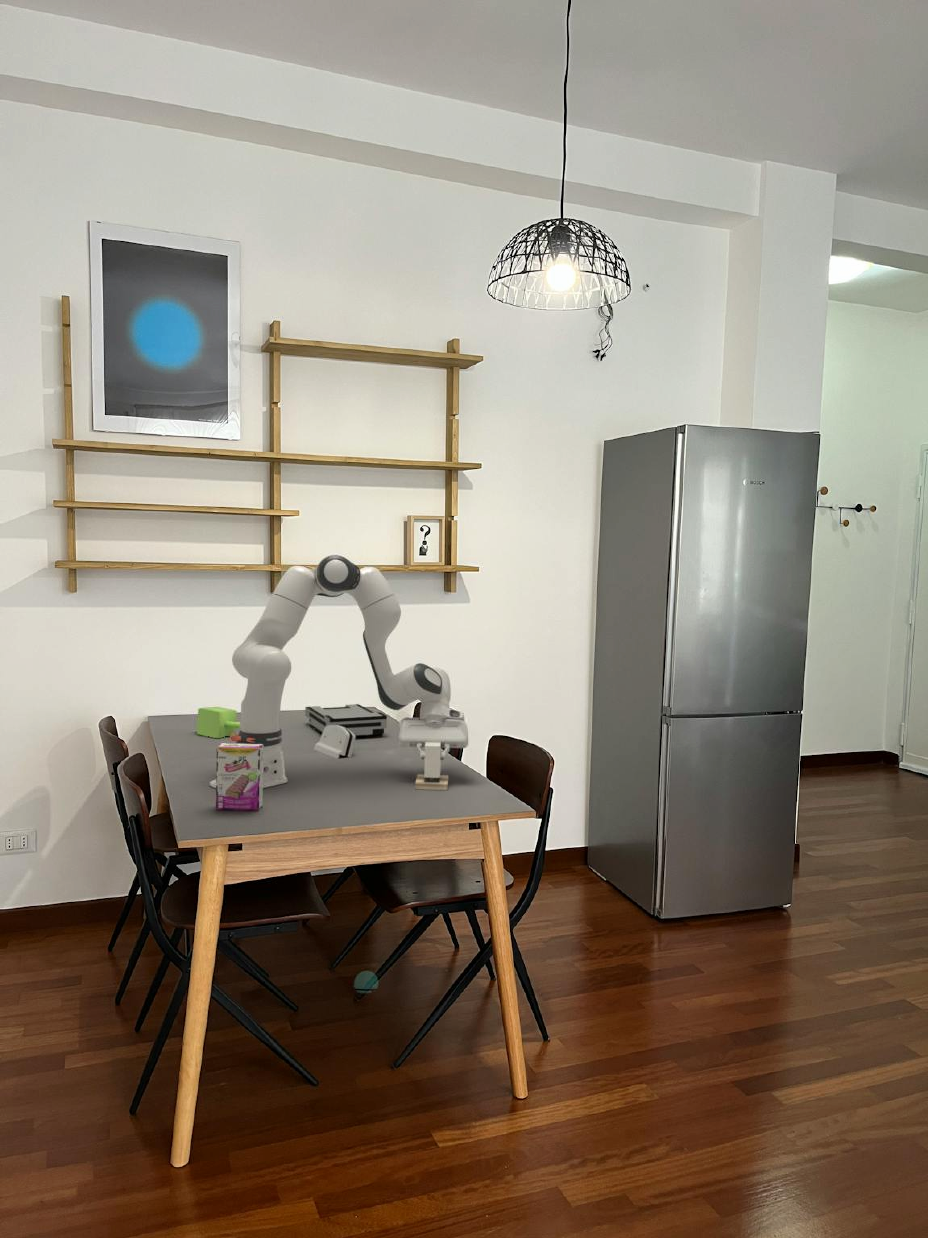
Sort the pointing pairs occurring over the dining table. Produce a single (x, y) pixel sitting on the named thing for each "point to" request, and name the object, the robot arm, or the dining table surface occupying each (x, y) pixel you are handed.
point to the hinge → (336, 741)
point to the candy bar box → (239, 776)
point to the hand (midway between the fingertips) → (432, 758)
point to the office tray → (348, 719)
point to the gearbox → (217, 722)
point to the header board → (431, 782)
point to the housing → (432, 760)
